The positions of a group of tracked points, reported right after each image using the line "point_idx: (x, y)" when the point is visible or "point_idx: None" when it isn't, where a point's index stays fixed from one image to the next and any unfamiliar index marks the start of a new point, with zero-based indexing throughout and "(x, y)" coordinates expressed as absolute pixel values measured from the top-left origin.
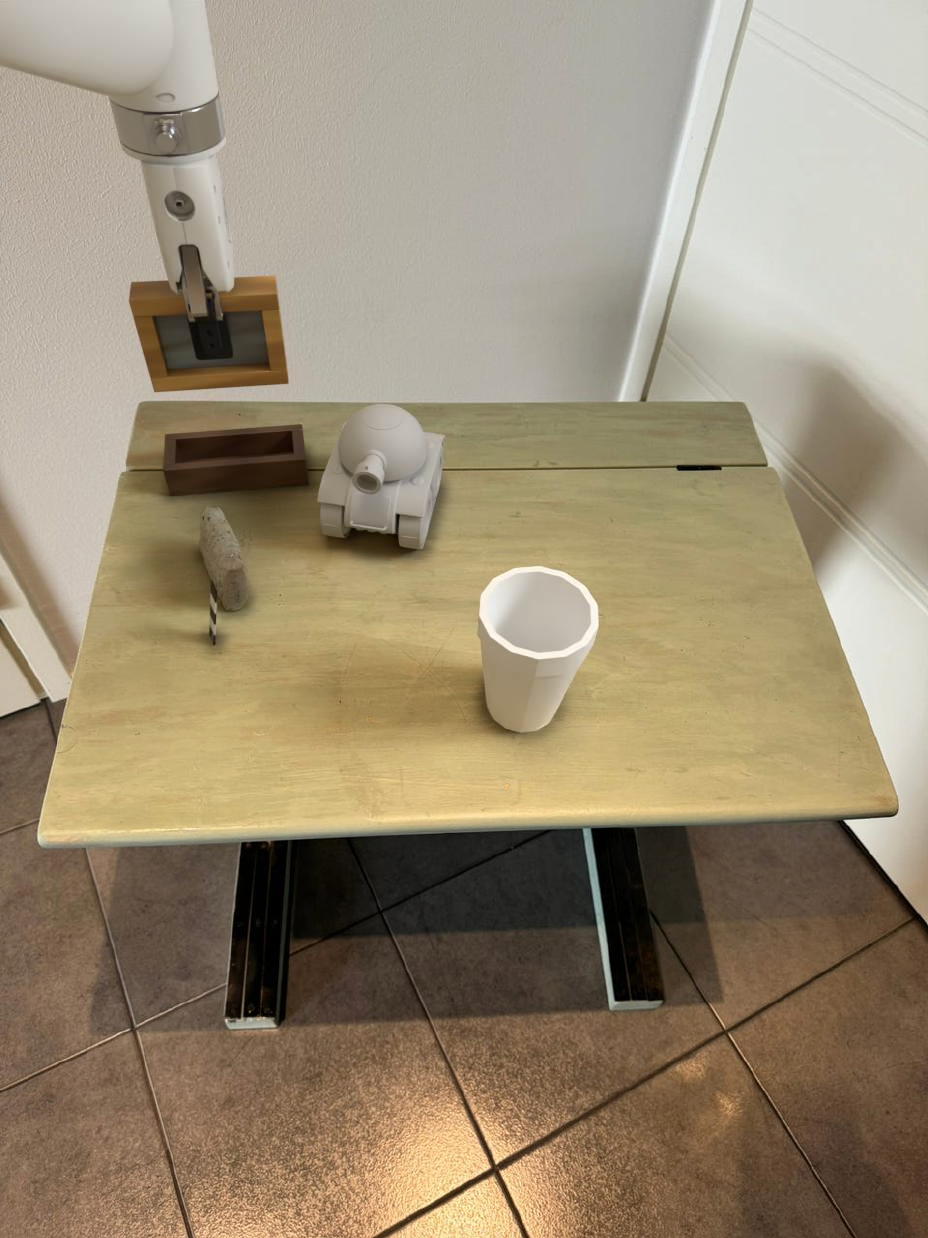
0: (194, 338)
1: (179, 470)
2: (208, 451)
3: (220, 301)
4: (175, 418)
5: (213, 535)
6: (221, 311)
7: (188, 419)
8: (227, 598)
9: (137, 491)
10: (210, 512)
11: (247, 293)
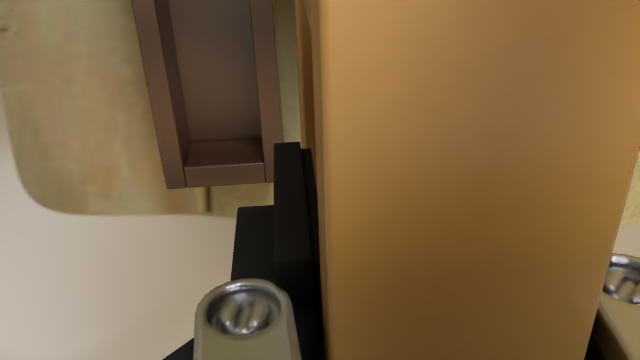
0: None
1: None
2: (179, 95)
3: (624, 324)
4: (40, 163)
5: None
6: (604, 283)
7: (39, 138)
8: None
9: (266, 204)
10: None
11: (620, 167)
